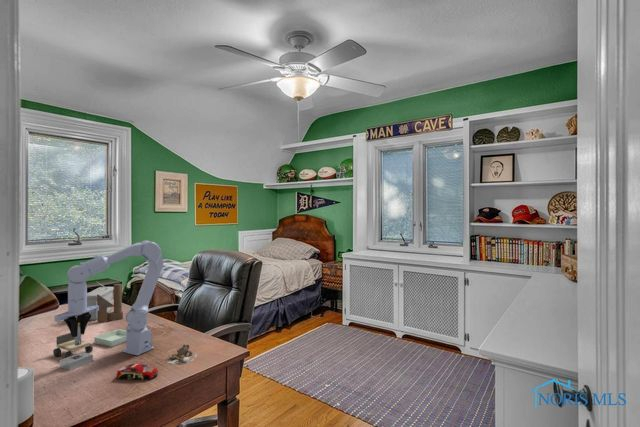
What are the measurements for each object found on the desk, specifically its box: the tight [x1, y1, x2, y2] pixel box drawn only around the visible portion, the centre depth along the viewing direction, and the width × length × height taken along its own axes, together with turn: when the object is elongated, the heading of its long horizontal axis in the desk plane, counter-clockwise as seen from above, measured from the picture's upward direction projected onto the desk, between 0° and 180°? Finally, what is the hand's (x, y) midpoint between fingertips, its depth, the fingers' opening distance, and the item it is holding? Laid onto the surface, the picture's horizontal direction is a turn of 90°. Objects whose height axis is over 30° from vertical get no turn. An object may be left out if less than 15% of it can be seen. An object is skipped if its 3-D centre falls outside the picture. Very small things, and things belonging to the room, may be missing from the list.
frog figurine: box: [166, 344, 198, 365], centre depth 133 cm, size 12×12×4 cm
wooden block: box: [96, 283, 124, 324], centre depth 176 cm, size 4×11×18 cm, turn 134°
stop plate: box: [59, 351, 94, 371], centre depth 127 cm, size 6×8×2 cm
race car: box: [116, 363, 159, 381], centre depth 118 cm, size 13×5×4 cm, turn 88°
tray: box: [94, 328, 126, 348], centre depth 150 cm, size 11×11×2 cm
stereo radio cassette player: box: [87, 281, 114, 321], centre depth 185 cm, size 21×8×20 cm, turn 10°
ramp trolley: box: [52, 332, 94, 358], centre depth 136 cm, size 10×9×7 cm
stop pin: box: [75, 321, 82, 346], centre depth 127 cm, size 2×2×8 cm
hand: (77, 335), depth 128 cm, fingers closed on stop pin, 2 cm apart
